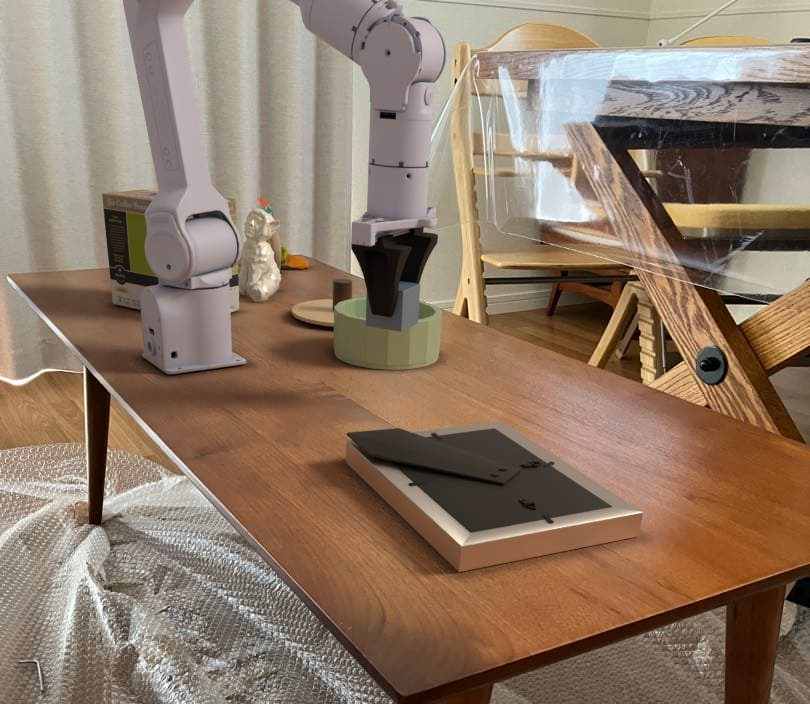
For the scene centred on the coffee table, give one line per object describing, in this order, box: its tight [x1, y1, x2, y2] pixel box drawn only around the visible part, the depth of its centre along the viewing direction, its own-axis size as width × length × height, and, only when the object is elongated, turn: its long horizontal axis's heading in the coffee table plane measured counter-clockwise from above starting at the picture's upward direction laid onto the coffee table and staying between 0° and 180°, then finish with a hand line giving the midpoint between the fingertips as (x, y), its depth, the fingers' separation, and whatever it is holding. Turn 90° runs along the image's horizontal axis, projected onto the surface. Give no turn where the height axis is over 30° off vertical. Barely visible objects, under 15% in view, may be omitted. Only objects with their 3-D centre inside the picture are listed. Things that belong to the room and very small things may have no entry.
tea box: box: [101, 188, 240, 313], centre depth 122 cm, size 15×10×15 cm
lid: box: [291, 278, 353, 328], centre depth 124 cm, size 14×14×5 cm
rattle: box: [258, 196, 310, 271], centre depth 149 cm, size 8×8×12 cm
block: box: [365, 281, 421, 332], centre depth 91 cm, size 4×4×4 cm
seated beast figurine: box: [238, 207, 282, 303], centre depth 133 cm, size 10×9×12 cm
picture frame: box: [345, 420, 644, 573], centre depth 74 cm, size 16×3×21 cm
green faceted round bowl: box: [333, 296, 443, 371], centre depth 109 cm, size 13×13×6 cm
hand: (392, 310), depth 91 cm, fingers closed on block, 4 cm apart
